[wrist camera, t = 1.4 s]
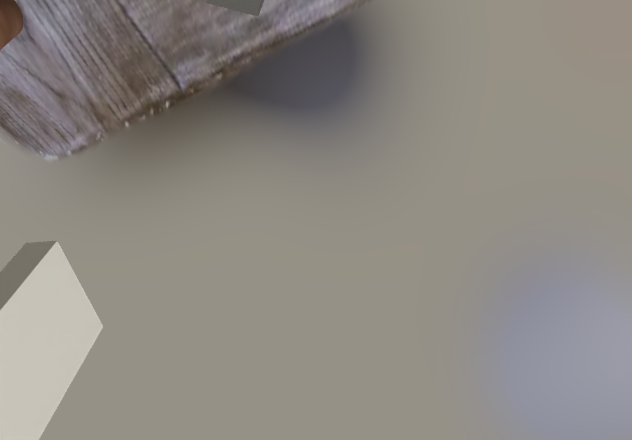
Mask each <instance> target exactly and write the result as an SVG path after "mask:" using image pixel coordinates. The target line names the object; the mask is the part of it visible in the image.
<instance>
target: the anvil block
mask: <svg viewBox="0 0 632 440" xmlns="http://www.w3.org/2000/svg"><path fill="white" fill-rule="evenodd" d="M263 2H264V0H207V2H206V3H209V4H213V5H217V6H220V7H224V8H228V9H232V10H236V11H240V12H244V13H247V14H251V15H255V16H258V15H259V13H260V10H261V7H262V5H263Z"/></svg>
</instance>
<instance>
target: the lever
mask: <svg viewBox="0 0 632 440" xmlns="http://www.w3.org/2000/svg"><path fill="white" fill-rule="evenodd" d="M22 28H23V16H22V12H21V10H20V8H19V6H18V5H17V3H16V2H15V1H14V0H0V50H1V49H2V48H3V47H4V46H5V45H6V44H7V43H9V42H10V41H11V40H12V39H13V38H14V37H16V36H17V35H18V34H19V33H20V32H21V30H22Z"/></svg>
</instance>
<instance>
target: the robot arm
mask: <svg viewBox="0 0 632 440" xmlns="http://www.w3.org/2000/svg"><path fill="white" fill-rule="evenodd" d="M102 328H103V326H102V324H101V322H100V320H99V318H98V316H97V314H96V313H95V311H94V309H93V307H92V305H91V303H90V301H89V300H88V298H87V296H86V294H85V292H84V290H83V288H82V286H81V285H80V283H79V281H78V279H77V277H76V275H75V274H74V272H73V270H72V268H71V266H70V264H69V262H68V260H67V259H66V257H65V255H64V253H63V251H62V249H61V247H60V245H59V244H58V242H57V241H48V242H32V243H26V244H25V245H24V246H23V247H22V248H21V250H19V252H18V253H17V254H16V255H15V256H14V257H13V258H12V259H11V261H10V262H9V263H8V264H7V265H6V266H5V267H4V268H3V270H2V271H1V272H0V440H39V438H40V436H41V434H42V433H43V431H44V429H45V428H46V426H47V424H48V422H49V420H50V419H51V417H52V415H53V414H54V412H55V410H56V408H57V407H58V405H59V403H60V401H61V400H62V398H63V396H64V394H65V393H66V391H67V389H68V387H69V385H70V384H71V382H72V380H73V378H74V377H75V375H76V373H77V371H78V369H79V368H80V366H81V364H82V363H83V361H84V359H85V357H86V356H87V354H88V352H89V350H90V348H91V347H92V345H93V343H94V342H95V340H96V338H97V336H98V335H99V333H100V331H101V329H102Z"/></svg>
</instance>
